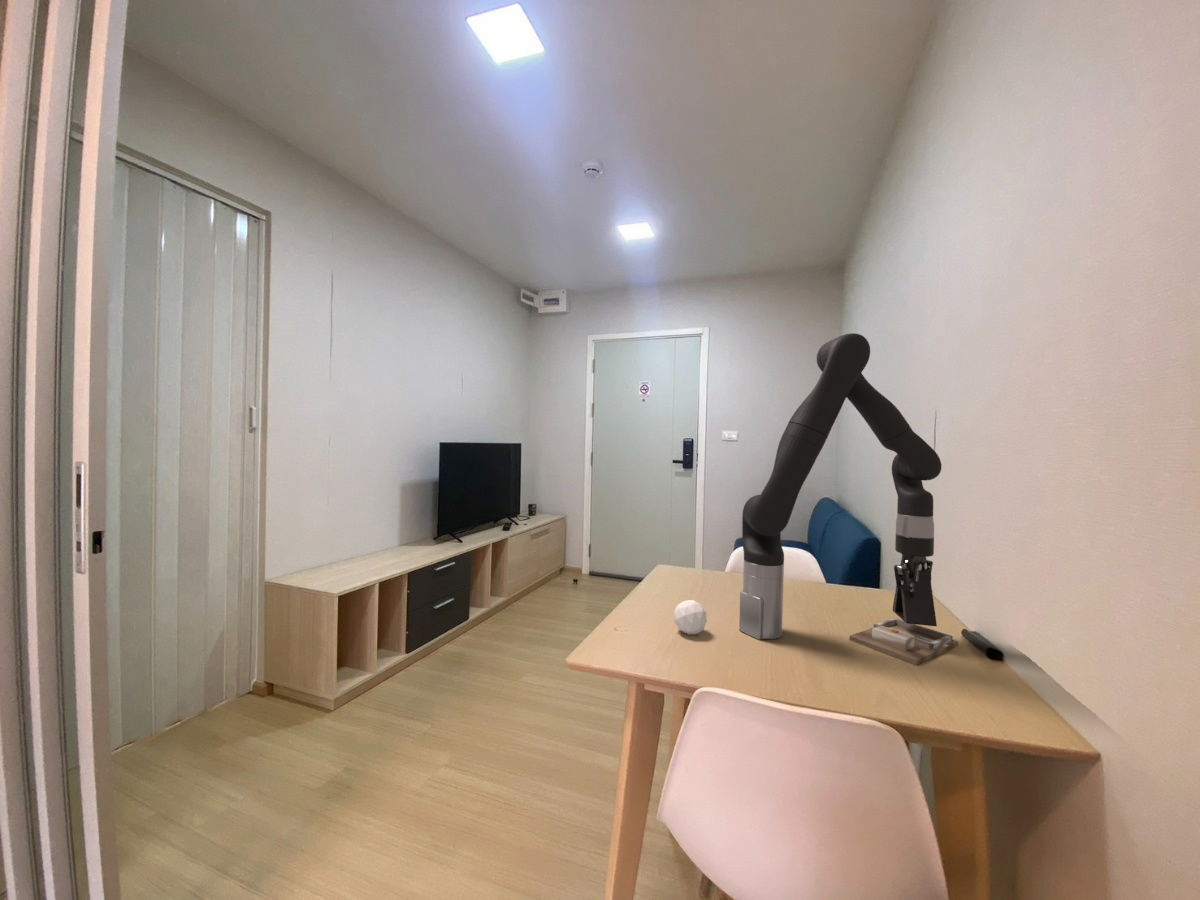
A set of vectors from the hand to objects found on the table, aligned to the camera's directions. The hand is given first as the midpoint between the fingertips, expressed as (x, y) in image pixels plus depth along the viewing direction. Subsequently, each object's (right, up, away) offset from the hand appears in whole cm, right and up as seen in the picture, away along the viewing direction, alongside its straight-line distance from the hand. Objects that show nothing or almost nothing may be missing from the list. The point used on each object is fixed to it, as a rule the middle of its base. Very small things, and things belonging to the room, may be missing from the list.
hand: (912, 604), depth 106 cm
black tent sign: (0, -3, 0) cm, 3 cm away
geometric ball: (-53, -7, +1) cm, 54 cm away
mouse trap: (-4, -8, -2) cm, 9 cm away
